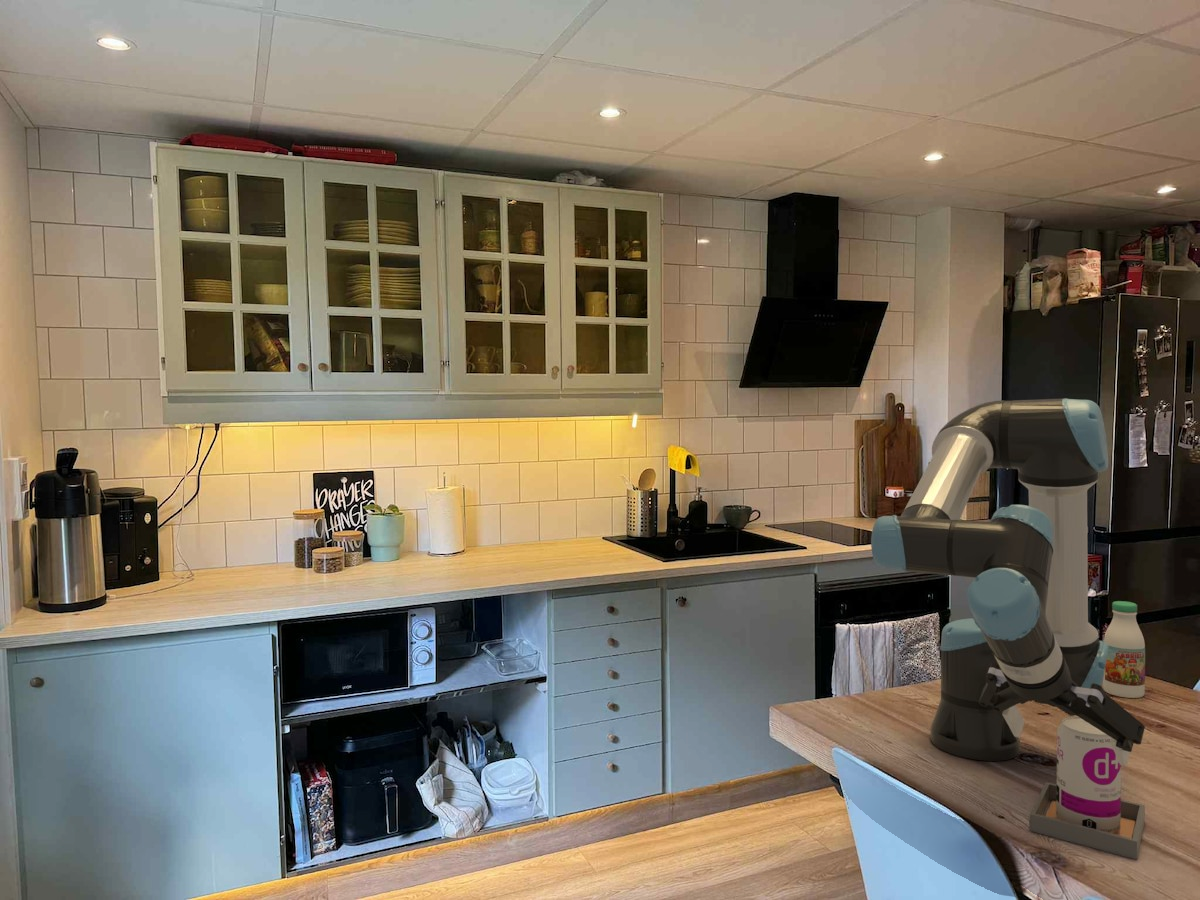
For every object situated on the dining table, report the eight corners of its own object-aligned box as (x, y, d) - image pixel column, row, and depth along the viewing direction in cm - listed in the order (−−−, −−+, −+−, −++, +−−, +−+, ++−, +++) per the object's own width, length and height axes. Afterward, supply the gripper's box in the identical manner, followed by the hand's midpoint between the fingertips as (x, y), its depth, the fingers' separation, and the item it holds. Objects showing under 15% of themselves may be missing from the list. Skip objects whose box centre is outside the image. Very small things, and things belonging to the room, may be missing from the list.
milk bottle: (1094, 688, 182) (1095, 599, 181) (1126, 686, 183) (1127, 598, 182) (1120, 699, 174) (1121, 607, 173) (1153, 698, 175) (1154, 606, 174)
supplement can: (1133, 839, 117) (1134, 736, 116) (1074, 838, 117) (1075, 736, 116) (1099, 811, 125) (1101, 715, 124) (1045, 811, 125) (1046, 715, 124)
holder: (1136, 859, 112) (1137, 841, 111) (1029, 830, 120) (1030, 814, 119) (1144, 821, 122) (1144, 805, 122) (1045, 797, 130) (1045, 781, 130)
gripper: (927, 664, 112) (973, 740, 123) (1137, 711, 93) (1169, 796, 104) (944, 619, 115) (987, 697, 126) (1150, 656, 97) (1181, 744, 108)
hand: (1070, 742), depth 115 cm, fingers open, 13 cm apart
